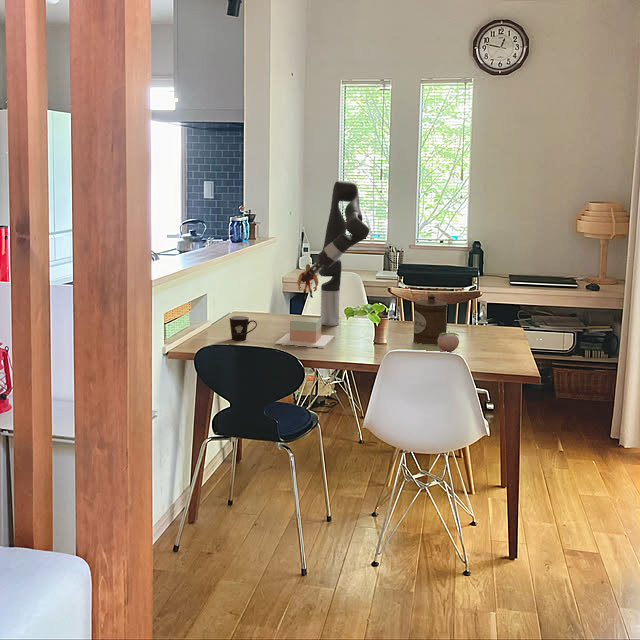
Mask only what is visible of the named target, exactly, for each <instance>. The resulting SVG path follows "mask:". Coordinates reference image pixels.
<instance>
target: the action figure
mask: <svg viewBox="0 0 640 640" xmlns="http://www.w3.org/2000/svg"><path fill="white" fill-rule="evenodd" d="M310 268H311V265H310V264H309V263H307V264H306V265H305V270H304V271H303V272H301V273H300V274H299V275H298V279H297V286H298V287H297V288H298V290H299V292H301V291H302V290H301V289H302V287H301V284H302V283H303V282H302V281H301V278H302V277H303V276H304V275H305V274H306V273H307V272H308V271H309V270H310ZM309 273H310V274H312V273H311V272H309ZM312 280H313V281H314V284H315V286H314V287H313V288H311V281H312ZM318 286H319V279H318V276H317V274H313V275H312V276H311V277H310V278H309V279H307V280H306V281H305V286H304V289H303V294H302V295H301V298H304V297H305V298H306V292H307V288H308V291H309V297H310V298H312V299H313V298H314V296H313V293H314V292H317V290H318V288H317V287H318ZM312 289H313V290H312Z"/></svg>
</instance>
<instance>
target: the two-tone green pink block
mask: <svg viewBox="0 0 640 640" xmlns="http://www.w3.org/2000/svg"><path fill="white" fill-rule="evenodd" d="M334 339H335V335H328V334H327V335H324V334H322V324H321V318H320V317H319V318H318V317H308V316H307V317H305V316H295V317H293V318H292V319H291V320H289V332H287V333H286V334H285V335H283V336H282V337H281V338H279V339H278V340H277V341H275V344H282V345H281V346H285V345H298V346H307V347H306V348H312V347H318V348H317V349H325V348H326V347H327V346H328V345H329V344H330V343H331V342H332V341H334ZM298 346H297V347H298Z"/></svg>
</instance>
